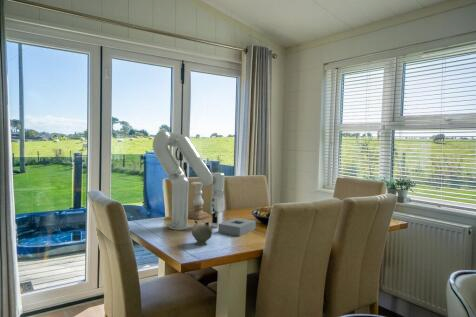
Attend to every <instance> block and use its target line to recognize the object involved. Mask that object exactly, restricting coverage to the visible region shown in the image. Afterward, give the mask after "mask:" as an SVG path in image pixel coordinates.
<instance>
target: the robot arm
mask: <svg viewBox="0 0 476 317" xmlns="http://www.w3.org/2000/svg"><path fill="white" fill-rule="evenodd" d="M169 147H173V148H177V149H178V150H179V152H180V154H182V156H183V158H184V160H185V161H186V163H187V164H188V165H189V167H190V168H191V169H192V170H193V172H194V173H195V174H196V176H197V177H198V180H199V182H201V183H202V184H204V185H203V186H210V185H211V198H210V211H209V213H210V214H211V224H212V223H217V217H216V216H217V212H220V211H222V213H223V212H224V211H225V209H226V199H225V173H224V172H220V171H219V172H218V171H216V172H211V171H210V169H209V168H208V167H207V165H206V163H205V162H204V161H203V158H202V157H201V155H200V153H199V151H197V149H196V147H195V146H194V144H193V143H192V141H191V139H190V138H189V137H188V136H187V135H185V134H180V133H176V132H172V131H168V130H167V129H161V130H159V131H157V132H156V134H155V135H154V138H153V141H152V150H153V153H154V155H155V157H156V159H157V160H158V162H159V164H160V165H161V168H162V169H163V172H164V173H165V174H166V176H167V178H168V179H169V181H170V183H171V186H172V190H171V191H172V192H171V220H170V222H169V223H166V227H168V228H169V229H171V230H176V231H177V230H178V231H181V230H188V229H190V228H191V225H190V224H189V223H188V219H189V218H188V214H189V188H190V183H189V182H190V181H189V179H188V177H187V176H186V175H185V173H184V171H183V168H182V167H181V166H180V164H179V163H178V161H177V160H176V158H175V157H174V155H173V154H172V151H171V150H170V148H169ZM214 210H215V211H216V212H215V211H214ZM214 212H215V213H214Z"/></svg>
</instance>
